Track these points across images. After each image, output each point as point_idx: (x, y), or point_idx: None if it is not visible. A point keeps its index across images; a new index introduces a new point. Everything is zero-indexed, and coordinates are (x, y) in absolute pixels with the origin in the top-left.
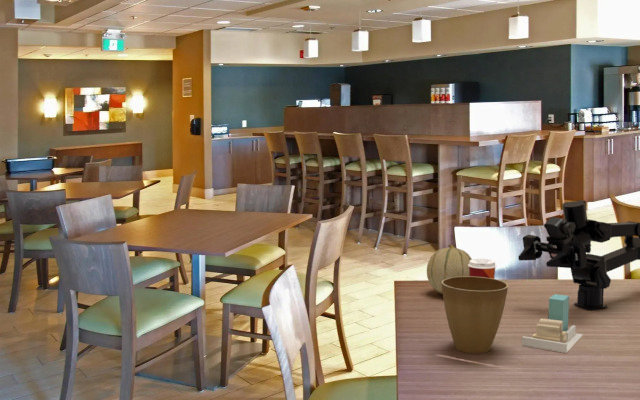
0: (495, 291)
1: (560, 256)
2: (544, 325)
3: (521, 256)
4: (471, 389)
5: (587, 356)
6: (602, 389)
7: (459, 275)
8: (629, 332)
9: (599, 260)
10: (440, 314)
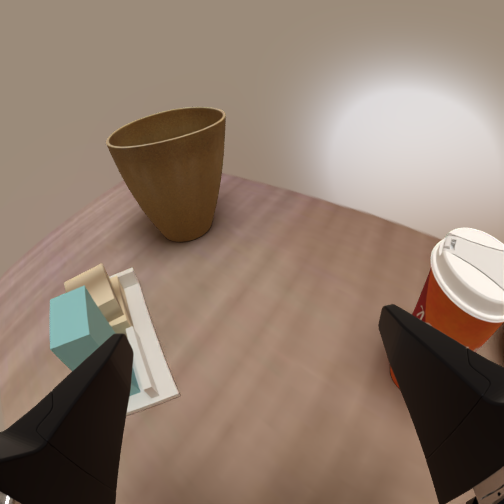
0: (113, 134)
1: (40, 406)
2: (89, 272)
3: (390, 323)
4: (118, 188)
5: (45, 332)
6: (20, 265)
7: None
8: None
9: None
10: (400, 276)
